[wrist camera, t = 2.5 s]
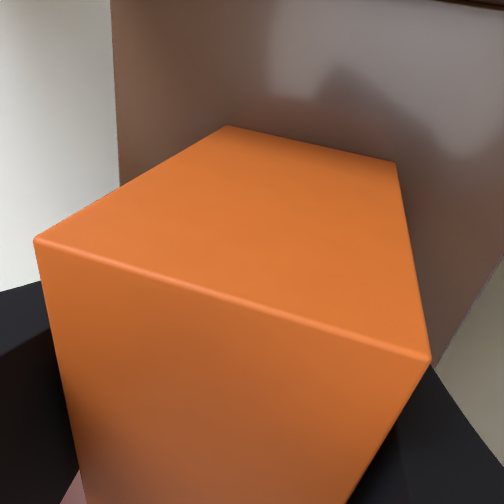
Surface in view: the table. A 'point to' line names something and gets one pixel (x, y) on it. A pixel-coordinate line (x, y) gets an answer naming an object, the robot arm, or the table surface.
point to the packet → (236, 324)
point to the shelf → (338, 108)
